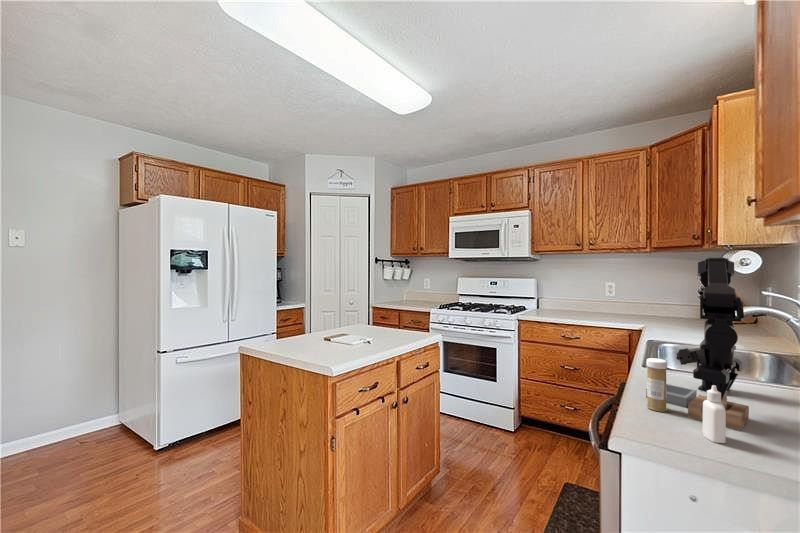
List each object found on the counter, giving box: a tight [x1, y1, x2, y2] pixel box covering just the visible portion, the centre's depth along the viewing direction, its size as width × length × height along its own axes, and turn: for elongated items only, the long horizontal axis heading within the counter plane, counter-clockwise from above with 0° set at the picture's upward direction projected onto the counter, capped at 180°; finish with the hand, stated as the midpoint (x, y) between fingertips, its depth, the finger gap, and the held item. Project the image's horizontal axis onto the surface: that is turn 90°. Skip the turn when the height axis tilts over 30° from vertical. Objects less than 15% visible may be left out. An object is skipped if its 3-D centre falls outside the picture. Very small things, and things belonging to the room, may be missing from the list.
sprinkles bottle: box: [646, 357, 668, 413], centre depth 101 cm, size 5×5×14 cm
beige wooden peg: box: [721, 391, 728, 410], centre depth 95 cm, size 3×3×7 cm
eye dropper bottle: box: [702, 385, 727, 444], centre depth 85 cm, size 4×6×12 cm
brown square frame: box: [687, 394, 750, 432], centre depth 95 cm, size 10×10×4 cm
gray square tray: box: [645, 383, 698, 408], centre depth 109 cm, size 10×10×3 cm
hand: (718, 402), depth 95 cm, fingers closed on beige wooden peg, 3 cm apart
